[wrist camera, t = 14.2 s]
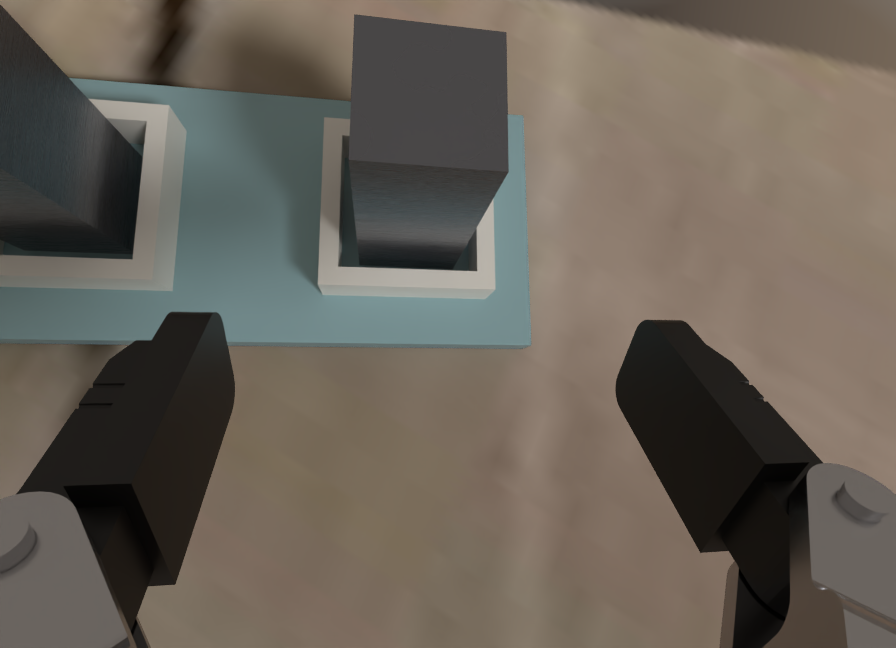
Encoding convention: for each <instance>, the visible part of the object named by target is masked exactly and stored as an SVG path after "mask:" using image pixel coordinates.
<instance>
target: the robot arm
mask: <svg viewBox="0 0 896 648" xmlns="http://www.w3.org/2000/svg"><path fill="white" fill-rule="evenodd" d="M234 397H235V382H234V375H233V370H232V365H231V360H230V355H229V350H228V345H227V340H226V335H225V330H224V325H223V321H222V318H221V316H220V314H219V313H217V312H170V313H168V314H167V316H166V317H165V319H164V320H163V322H162V324H161V325H160V327H159V329H158V330H157V332H156V334H155V335H154V337H153V338H152V340H136V341H134V342H133V343H132V344H130V345H129V346H127V347H126V348H125V349H123V350H122V351H121V352H119V353H118V354H116V355H115V356H114V357H112V358H111V359H110V360H109V361H108V362H107V364H106V365H105V366H104V368H103V369H102V371H101V372H100V374H99V375H98V377H97V378H96V380H95V381H94V383H93V388H89V390H88V391H87V393H86V394H85V396H84V397H83V399H82V400H81V401H80V403H79V409H75V410H74V412H73V413H72V415H71V416H70V417H69V419H68V420H67V422H66V423H65V425H64V426H63V428H62V429H61V431H60V432H59V434H58V435H57V436H56V438H55V439H54V441H53V442H52V444H51V445H50V447H49V448H48V450H47V451H46V452H45V454H44V455H43V457H42V458H41V460H40V461H39V463H38V464H37V466H36V467H35V468H34V470H33V471H32V473H31V474H30V476H29V477H28V479H27V480H26V482H25V483H24V485H23V486H22V487H21V489H20V490H19V491H18V493H17V494H16V495H13V496H9V497H6V498H3V499H0V648H151V647H150V645H149V642H148V640H147V638H146V635H145V633H144V631H143V628H142V626H141V624H140V621H139V619H138V617H137V614H138V611H139V609H140V606H141V603H142V600H143V598H144V595H145V592H146V590H147V587H148V586H160V585H175V584H176V581H177V578H178V575H179V572H180V569H181V566H182V563H183V560H184V556H185V553H186V550H187V547H188V544H189V541H190V538H191V535H192V532H193V529H194V526H195V523H196V520H197V517H198V514H199V511H200V508H201V505H202V502H203V498H204V495H205V492H206V489H207V486H208V483H209V480H210V477H211V474H212V471H213V468H214V465H215V462H216V459H217V456H218V453H219V450H220V447H221V444H222V440H223V437H224V434H225V431H226V428H227V425H228V422H229V419H230V416H231V413H232V409H233V405H234ZM616 398H617V402H618V405H619V407H620V409H621V411H622V413H623V414H624V416H625V418H626V420H627V422H628V423H629V425H630V427H631V429H632V431H633V432H634V434H635V436H636V438H637V440H638V441H639V443H640V445H641V447H642V449H643V450H644V452H645V454H646V456H647V458H648V459H649V461H650V463H651V465H652V467H653V468H654V470H655V472H656V474H657V476H658V477H659V479H660V481H661V483H662V485H663V486H664V488H665V490H666V492H667V494H668V495H669V497H670V499H671V501H672V503H673V504H674V506H675V508H676V510H677V512H678V513H679V515H680V517H681V519H682V521H683V522H684V524H685V526H686V528H687V529H688V531H689V533H690V535H691V537H692V538H693V540H694V542H695V544H696V546H697V547H698V549H699V551H700V553H703V552H719V551H729V552H730V554H731V555H732V557H733V559H734V560H735V561H734V562H733V564H732V565H731V566H730V568H729V570H728V573H727V579H726V589H725V599H724V608H723V618H722V628H721V638H720V647H719V648H896V494H894V493H893V492H892V491H891V490H889V489H888V488H887V487H886V486H884V485H883V484H881V483H880V482H878V481H877V480H875V479H873V478H872V477H870V476H868V475H866V474H864V473H862V472H860V471H857V470H855V469H852V468H849V467H847V466H843V465H839V464H832V463H823V462H822V461H821V460H820V459H819V458H818V457H817V456H816V454H815V453H814V452H813V451H812V450H811V449H810V448H809V447H808V446H807V445H806V443H805V442H804V441H803V440H802V439H801V438H800V437H799V436H798V435H797V434H796V432H795V431H794V430H793V429H792V428H791V427H790V426H789V425H788V424H787V423H786V421H785V420H784V419H783V418H782V417H781V416H780V415H779V414H778V413H777V411H776V410H775V409H774V408H773V407H772V406H771V405H770V404H769V403H768V402H764V400H763V398H764V397H763V396H762V395H761V394H760V393H759V392H758V391H757V389H756V388H755V387H754V386H753V385H749V381H748V379H747V378H746V377H745V376H744V375H743V374H742V373H741V372H740V371H739V370H738V368H737V367H736V366H735V365H734V364H733V363H732V362H731V361H730V360H728V359H727V358H725V357H724V356H722V355H721V354H719V353H718V352H716V351H715V350H713V349H712V348H710V347H709V346H708V345H706V344H705V343H704V342H703V341H702V339H701V338H700V337H699V336H698V335H697V334H696V333H695V332H694V330H693V329H692V328H691V327H690V326H689V325H688V324H687V323H686V322H684V321H681V320H644V321H642V322H641V323H640V324H639V325H638V327H637V329H636V331H635V334H634V336H633V339H632V341H631V344H630V346H629V349H628V351H627V354H626V356H625V359H624V361H623V364H622V366H621V369H620V371H619V374H618V377H617V380H616Z"/></svg>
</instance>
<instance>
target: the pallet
mask: <svg viewBox="0 0 896 648" xmlns="http://www.w3.org/2000/svg"><path fill="white" fill-rule="evenodd" d="M69 79H70V80H71V81H72V82H73V83H74V84H75V85H76V86H77V87H78V88H79V90H80V91H81V92H82V93H83V94H84V95H85V96H86V97H87V98H88V99H89V100H90V101H91V102H92V103H93V105H94V106H95V107H96V108H97V109H98V110H99V111H100V112H101V113H102V114H103V115H104V116H105V117H106V119H107V120H108V121H109V122H110V123H111V124H112V125H113V126H114V127H115V128H116V129H117V130H118V131H119V132H120V134H121V135H122V136H123V137H124V138H125V139H126V140H127V141H128V142H129V143H130V144H131V145H132V146H133V147H134V149H135V150H136V151H137V152H138V153H139V154H140V155H141V156H142V157H143V162H142V172H141V181H140V191H139V201H138V211H137V220H136V230H135V240H134V249H133V254H108V253H80V252H52V251H24V250H22V249H20V248H18V247H15V246H13V245H11V244H9V243H6V242H4V241H2V240H0V343H19V344H113V345H130V344H132V343H133V342H134V341H136V340H152V338H153V337H154V335H155V334H156V332H157V330H158V329H159V327H160V325H161V324H162V322H163V320H164V319H165V317H166V316H167V314H168V313H170V312H217V313H219V314H220V316H221V318H222V321H223V325H224V330H225V335H226V340H227V345H228V346H300V347H394V348H488V349H523V348H526V347H528V346H531V325H530V296H529V267H528V238H527V209H526V181H525V152H524V123H523V116H522V115H510V114H508V159H509V172H508V174H507V176H506V178H505V179H504V181H503V183H502V184H501V186H500V188H499V190H498V191H497V193H496V195H495V197H494V198H493V200H492V202H491V204H490V205H489V207H488V209H487V211H486V212H485V214H484V216H483V217H482V219H481V221H480V223H479V224H478V226H477V228H476V230H475V231H474V233H473V235H472V237H471V238H470V240H469V242H468V244H467V245H466V247H465V249H464V250H463V252H462V254H461V256H460V257H459V259H458V261H457V263H456V264H455V266H454V268H453V269H436V268H414V267H391V266H369V265H359V255H358V246H357V236H356V226H355V217H354V207H353V198H352V188H351V178H350V169H349V137H350V112H351V101H342V100H329V99H317V98H305V97H293V96H281V95H269V94H257V93H245V92H233V91H221V90H209V89H197V88H185V87H173V86H161V85H149V84H137V83H125V82H113V81H101V80H89V79H77V78H69Z"/></svg>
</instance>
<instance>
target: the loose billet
mask: <svg viewBox="0 0 896 648" xmlns="http://www.w3.org/2000/svg"><path fill="white" fill-rule="evenodd" d="M349 169H350V178H351V188H352V198H353V207H354V217H355V226H356V236H357V246H358V255H359V265H369V266H391V267H414V268H436V269H453V268H454V266H455V264H456V263H457V261H458V259H459V257H460V256H461V254H462V252H463V250H464V249H465V247H466V245H467V244H468V242H469V240H470V238H471V237H472V235H473V233H474V231H475V230H476V228H477V226H478V224H479V223H480V221H481V219H482V217H483V216H484V214H485V212H486V211H487V209H488V207H489V205H490V204H491V202H492V200H493V198H494V197H495V195H496V193H497V191H498V190H499V188H500V186H501V184H502V183H503V181H504V179H505V178H506V176H507V174H508V172H509V159H508V103H507V46H506V32H499V31H490V30H482V29H473V28H465V27H456V26H448V25H439V24H431V23H423V22H414V21H406V20H397V19H389V18H380V17H372V16H363V15H355V14H354V38H353V63H352V87H351V112H350V137H349Z"/></svg>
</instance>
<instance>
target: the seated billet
mask: <svg viewBox="0 0 896 648" xmlns="http://www.w3.org/2000/svg"><path fill="white" fill-rule="evenodd" d="M142 162H143V157H142V156H141V155H140V154H139V153H138V152H137V151H136V150H135V149H134V147H133V146H132V145H131V144H130V143H129V142H128V141H127V140H126V139H125V138H124V137H123V136H122V135H121V134H120V132H119V131H118V130H117V129H116V128H115V127H114V126H113V125H112V124H111V123H110V122H109V121H108V120H107V119H106V117H105V116H104V115H103V114H102V113H101V112H100V111H99V110H98V109H97V108H96V107H95V106H94V105H93V103H92V102H91V101H90V100H89V99H88V98H87V97H86V96H85V95H84V94H83V93H82V92H81V91H80V90H79V88H78V87H77V86H76V85H75V84H74V83H73V82H72V81H71V80H70V79H69V78H68V77H67V76H66V75H65V73H64V72H63V71H62V70H61V69H60V68H59V67H58V66H57V65H56V64H55V63H54V62H53V61H52V60H51V58H50V57H49V56H48V55H47V54H46V53H45V52H44V51H43V50H42V49H41V48H40V47H39V46H38V45H37V43H36V42H35V41H34V40H33V39H32V38H31V37H30V36H29V35H28V34H27V33H26V32H25V31H24V29H23V28H22V27H21V26H20V25H19V24H18V23H17V22H16V21H15V20H14V19H13V18H12V17H11V16H10V14H9V13H8V12H7V11H6V10H5V9H4V8H3V7H2V6H1V5H0V240H2V241H4V242H6V243H9V244H11V245H13V246H15V247H18V248H20V249H22V250H24V251H52V252H80V253H108V254H133V249H134V240H135V230H136V220H137V211H138V201H139V191H140V181H141V172H142Z"/></svg>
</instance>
